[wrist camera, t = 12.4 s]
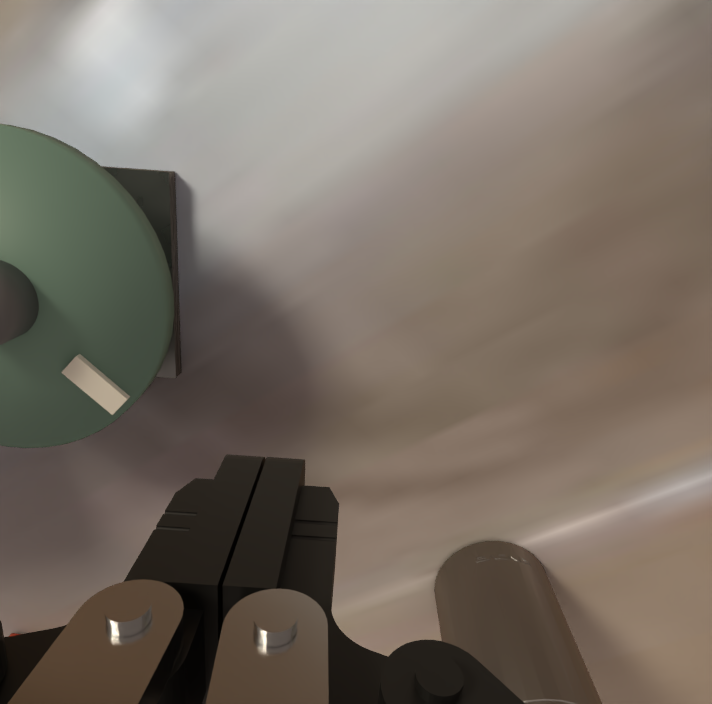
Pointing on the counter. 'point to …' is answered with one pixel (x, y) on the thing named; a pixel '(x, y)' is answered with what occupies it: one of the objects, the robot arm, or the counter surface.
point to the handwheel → (73, 294)
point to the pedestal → (159, 237)
